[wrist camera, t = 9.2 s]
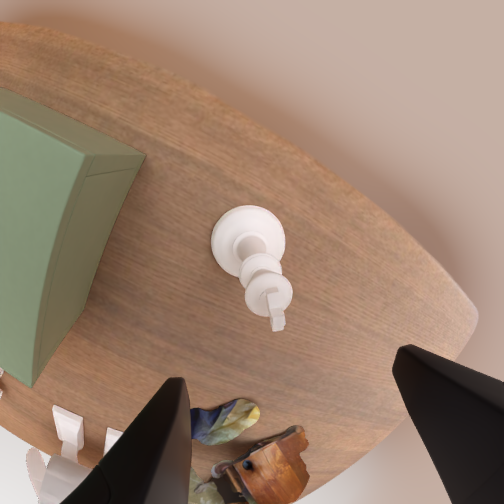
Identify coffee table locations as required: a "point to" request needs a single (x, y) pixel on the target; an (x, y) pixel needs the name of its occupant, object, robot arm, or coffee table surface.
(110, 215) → the cabinet
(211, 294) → the coffee table surface
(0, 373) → the binoculars
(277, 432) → the coffee table surface
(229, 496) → the jar
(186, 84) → the coffee table surface
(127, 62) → the coffee table surface
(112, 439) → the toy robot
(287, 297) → the chess piece
